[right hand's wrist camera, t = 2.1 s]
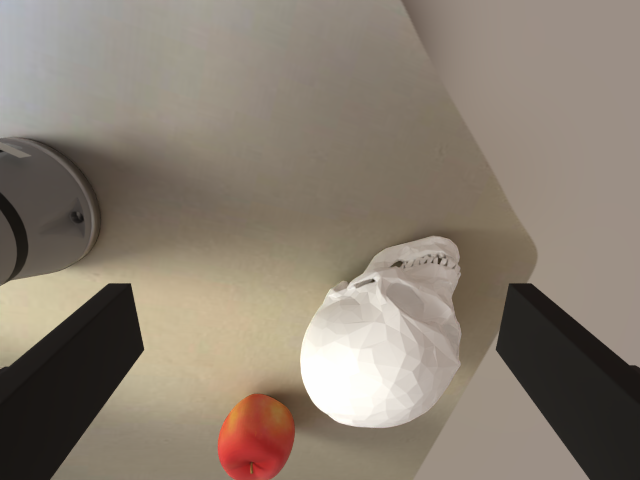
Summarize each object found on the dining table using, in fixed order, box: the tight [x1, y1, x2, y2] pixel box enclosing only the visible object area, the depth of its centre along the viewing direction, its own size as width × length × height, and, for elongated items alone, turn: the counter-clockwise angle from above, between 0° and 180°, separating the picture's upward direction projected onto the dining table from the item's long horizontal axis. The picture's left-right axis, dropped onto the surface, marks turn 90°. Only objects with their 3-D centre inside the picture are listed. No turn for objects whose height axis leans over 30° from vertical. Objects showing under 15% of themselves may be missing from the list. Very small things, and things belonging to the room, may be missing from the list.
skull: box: [300, 236, 462, 428], centre depth 38 cm, size 13×22×16 cm, turn 141°
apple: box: [218, 394, 295, 480], centre depth 46 cm, size 10×10×10 cm
